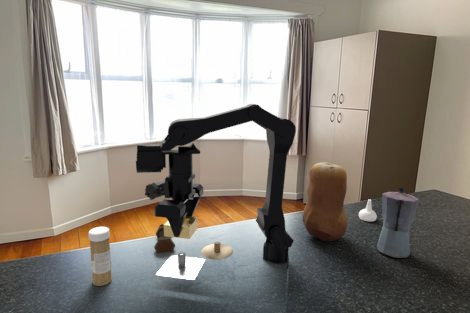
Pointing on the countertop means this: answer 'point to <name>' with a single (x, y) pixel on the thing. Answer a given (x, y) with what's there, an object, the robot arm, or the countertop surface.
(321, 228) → the butternut squash
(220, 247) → the stand
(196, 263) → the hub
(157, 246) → the bolt
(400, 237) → the moka pot
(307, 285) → the countertop surface
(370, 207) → the garlic bulb
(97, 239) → the sprinkles bottle
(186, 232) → the brass square sleeve
